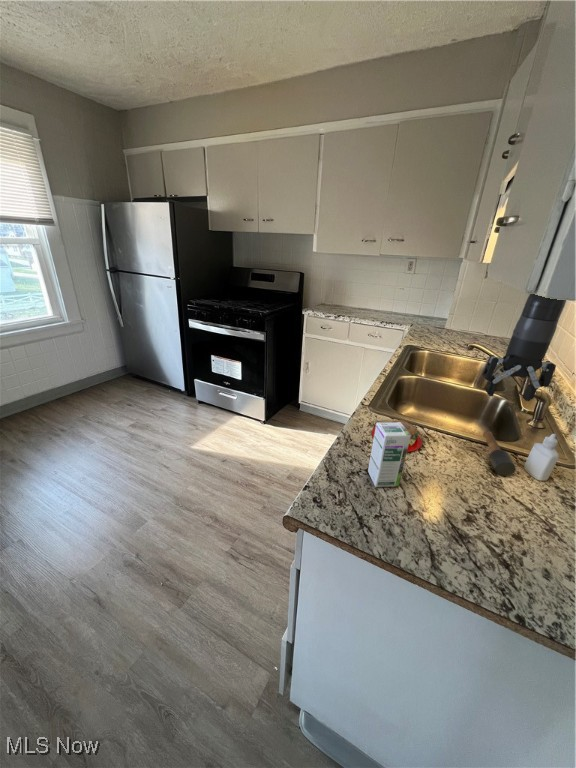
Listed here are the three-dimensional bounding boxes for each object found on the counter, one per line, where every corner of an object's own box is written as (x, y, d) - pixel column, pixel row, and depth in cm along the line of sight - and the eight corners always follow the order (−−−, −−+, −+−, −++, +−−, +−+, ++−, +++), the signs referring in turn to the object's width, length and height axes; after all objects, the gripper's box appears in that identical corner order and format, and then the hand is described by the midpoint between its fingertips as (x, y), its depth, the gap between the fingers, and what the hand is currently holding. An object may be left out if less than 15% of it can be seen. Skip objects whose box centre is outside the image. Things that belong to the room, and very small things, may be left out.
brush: (512, 477, 77) (493, 441, 90) (518, 464, 75) (498, 429, 88) (492, 474, 78) (476, 438, 91) (498, 460, 76) (481, 426, 89)
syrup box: (375, 488, 72) (386, 436, 66) (367, 470, 78) (376, 421, 71) (398, 487, 73) (412, 435, 67) (389, 469, 78) (400, 420, 72)
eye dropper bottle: (526, 477, 78) (545, 437, 72) (522, 464, 82) (540, 426, 77) (547, 483, 76) (569, 443, 71) (542, 470, 81) (562, 431, 75)
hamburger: (378, 419, 100) (382, 403, 97) (425, 433, 93) (430, 416, 91) (365, 441, 88) (368, 424, 86) (417, 459, 82) (422, 440, 80)
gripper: (505, 337, 71) (482, 400, 78) (575, 344, 69) (546, 408, 76) (492, 329, 78) (473, 387, 85) (556, 335, 75) (531, 394, 82)
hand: (507, 397), depth 80 cm, fingers open, 8 cm apart
